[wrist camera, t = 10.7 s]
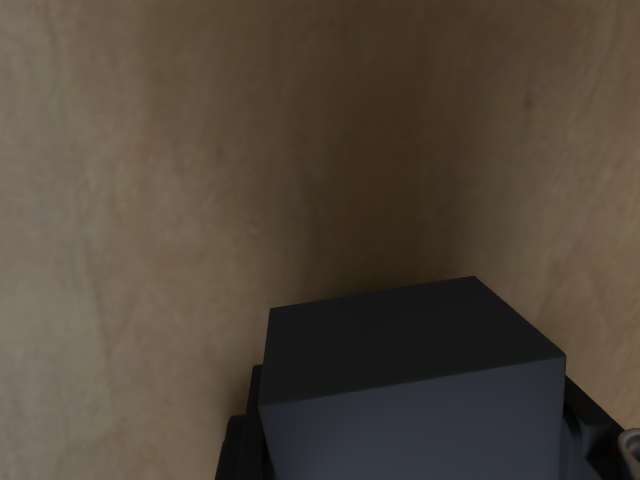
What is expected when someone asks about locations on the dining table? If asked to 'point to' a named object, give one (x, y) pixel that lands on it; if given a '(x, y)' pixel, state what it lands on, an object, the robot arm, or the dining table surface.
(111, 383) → the dining table surface
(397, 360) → the pad
